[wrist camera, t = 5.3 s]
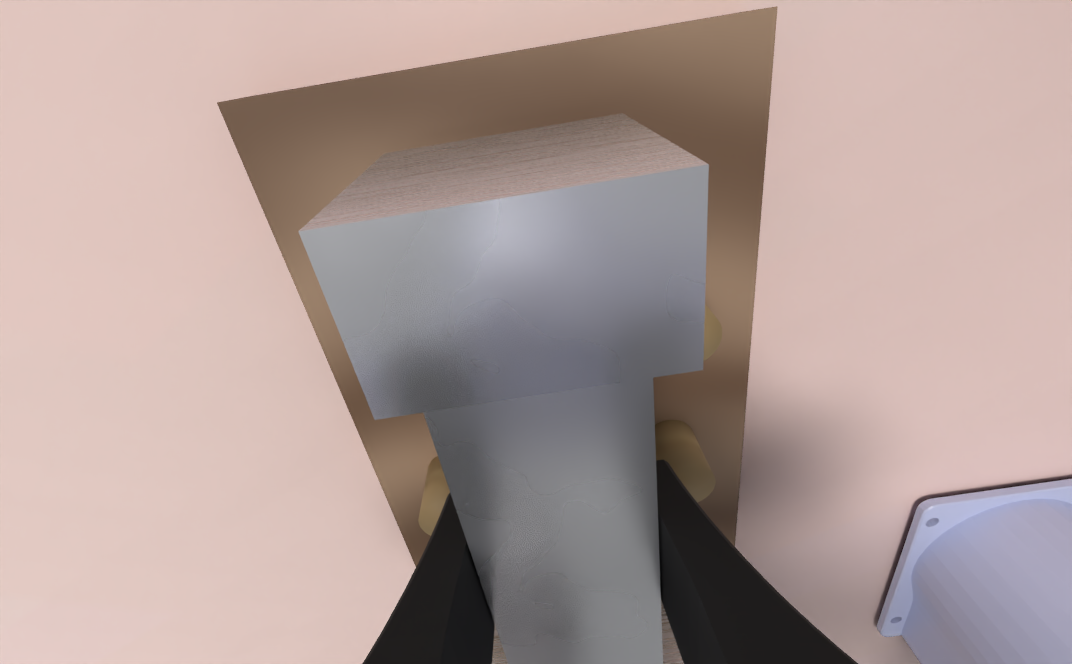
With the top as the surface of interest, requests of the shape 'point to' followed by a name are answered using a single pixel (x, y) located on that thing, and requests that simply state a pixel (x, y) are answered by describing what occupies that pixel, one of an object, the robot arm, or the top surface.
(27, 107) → the top surface
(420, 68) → the peg board
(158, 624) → the top surface
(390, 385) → the grey i-beam block
